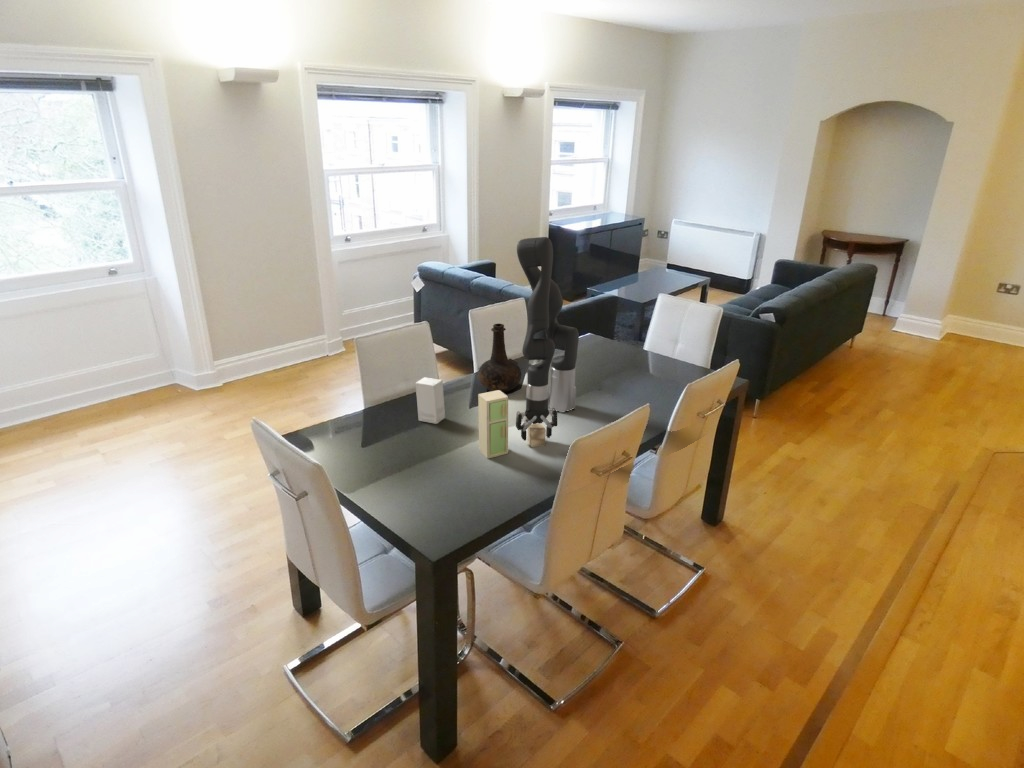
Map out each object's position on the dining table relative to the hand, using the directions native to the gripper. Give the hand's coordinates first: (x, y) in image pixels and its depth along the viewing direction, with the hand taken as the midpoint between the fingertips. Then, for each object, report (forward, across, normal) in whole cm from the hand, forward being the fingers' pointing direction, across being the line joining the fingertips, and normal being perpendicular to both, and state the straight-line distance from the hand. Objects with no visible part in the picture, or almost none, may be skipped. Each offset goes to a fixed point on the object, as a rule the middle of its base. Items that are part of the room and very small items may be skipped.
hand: (536, 438), depth 216 cm
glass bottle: (+2, +1, -51) cm, 51 cm away
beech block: (+2, 0, 0) cm, 2 cm away
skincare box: (+2, +33, -27) cm, 43 cm away
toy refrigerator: (+2, +16, +4) cm, 17 cm away
